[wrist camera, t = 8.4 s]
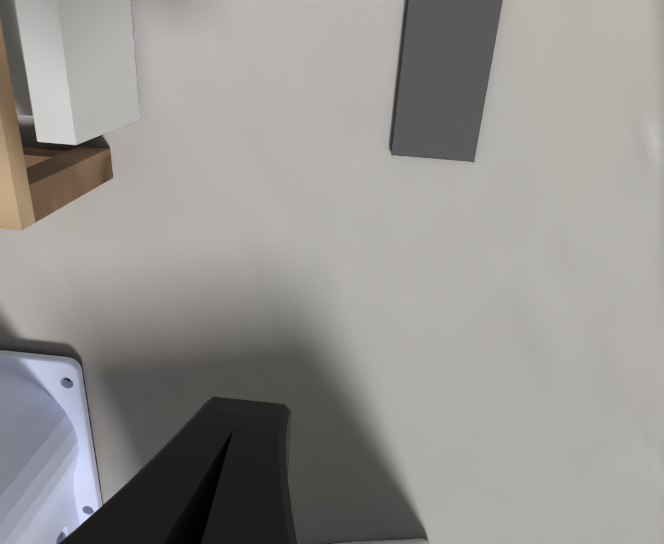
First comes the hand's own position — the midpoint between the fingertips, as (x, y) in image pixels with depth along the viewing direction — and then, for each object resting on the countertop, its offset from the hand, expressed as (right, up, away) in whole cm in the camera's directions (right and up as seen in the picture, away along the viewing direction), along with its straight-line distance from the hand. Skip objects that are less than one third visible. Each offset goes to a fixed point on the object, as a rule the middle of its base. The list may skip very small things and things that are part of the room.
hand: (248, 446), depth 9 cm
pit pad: (+5, +9, +7) cm, 13 cm away
